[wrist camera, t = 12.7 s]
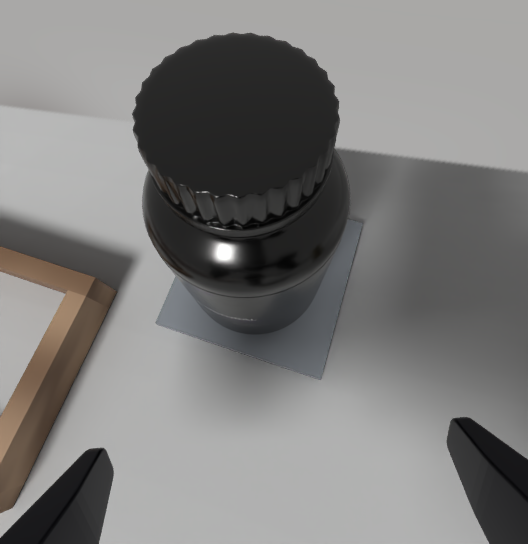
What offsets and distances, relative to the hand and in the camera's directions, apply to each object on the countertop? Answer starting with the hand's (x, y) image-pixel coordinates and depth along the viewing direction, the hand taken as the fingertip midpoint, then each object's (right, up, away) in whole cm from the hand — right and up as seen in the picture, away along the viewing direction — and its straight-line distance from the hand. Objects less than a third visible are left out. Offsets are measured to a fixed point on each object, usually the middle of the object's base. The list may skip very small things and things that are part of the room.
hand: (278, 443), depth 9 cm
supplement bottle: (-1, +4, +10) cm, 11 cm away
